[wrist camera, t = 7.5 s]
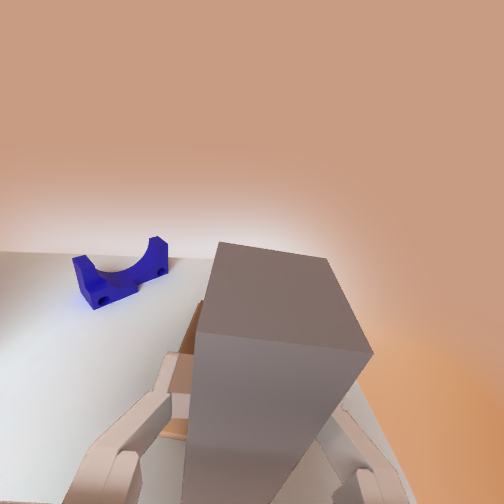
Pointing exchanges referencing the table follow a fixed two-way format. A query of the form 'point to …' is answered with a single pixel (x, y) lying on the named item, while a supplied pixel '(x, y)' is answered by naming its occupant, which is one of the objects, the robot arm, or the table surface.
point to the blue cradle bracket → (120, 275)
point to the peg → (265, 371)
